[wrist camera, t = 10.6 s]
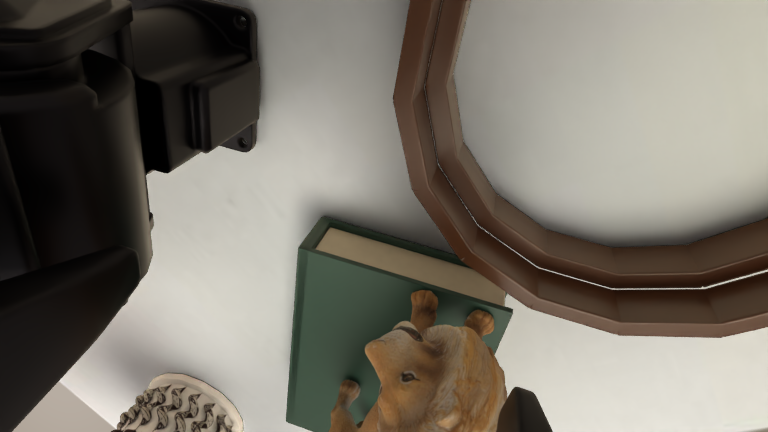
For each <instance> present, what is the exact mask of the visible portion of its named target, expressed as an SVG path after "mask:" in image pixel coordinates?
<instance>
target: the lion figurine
mask: <svg viewBox="0 0 768 432" xmlns="http://www.w3.org/2000/svg"><path fill="white" fill-rule="evenodd" d="M411 301H412V315H411V321H410V322H408V321H402V322H400V323H399V324H397V325H396V326H395V327H394V328H393V330H392V331H391V332H389V333H387V334H385V335H383V336H382V337H381V338H379V339H376V340H373V341H371V342H369V343H368V344H367V345H366V347H365V353H366V355H367V357H368V358H369V360H370V362H371V363H372V365H373V366H374V368H375V370H376V372H377V375H378V377H379V379H380V381H381V386H380V390H379V397H378V399H377V402H376V403H375V404H374V406H373V407H372V408H371V410H370V411H369V412H368V414H367V416H366V417H365V419H364V421H360V422H359V423H358V424H357V425H356V424H355V422H354V419H353V416H352V414H351V412H350V411H348V409H349V407H350V405H351V403H352V402H353V401H354V400H355V399H356V398H357V397H358V395H359V393H360V390H361V389H360V386H359V385H358V383H356V382H354V381H352V380H344V381H343V382H342V383H341V385H340V390H339V396H338V399H337V402H336V405H335V407H334V408H333V410H332V411H331V428H330V430H329V432H496V429H497V423H498V417H499V413H500V411H501V408H502V406H503V405H504V403H505V401H506V400H507V391H506V387H505V377H504V371H503V370H502V368H501V367H500V366H499V364H498V362H497V359H496V358H495V356H494V353H493V350H492V349H491V347H488V346H486V344H485V343H484V342H483V341H482V337H483V335H486V334H490V333H491V332H492V331H493V330H494V319H493V317H492V316H491V315H490V313H488V312H485V311H482V310H475V311H473V312H472V313H471V314H470V315H469V316H468V317H467V319H466V320H465V322H464V326H463V327H453V326H451V325H437V326H433V325H434V323H435V321H436V318H437V313H436V309H437V306H438V299H437V296H436V295H435V294H433V292H432V291H429V290H419V291H415V292H413V293H412V294H411Z"/></svg>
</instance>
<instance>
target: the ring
mask: <svg viewBox="0 0 768 432" xmlns="http://www.w3.org/2000/svg"><path fill="white" fill-rule="evenodd" d="M441 3H442V5H441ZM470 3H471V0H443V1H442V0H410V4H409V10H408V16H407V21H406V27H405V33H404V38H403V44H402V50H401V55H400V61H399V67H398V72H397V78H396V84H395V89H394V95H393V100H394V101H393V103H394V108H395V112H396V117H397V122H398V126H399V131H400V136H401V140H402V145H403V150H404V154H405V159H406V164H407V168H408V173H409V178H410V182H411V187H412V190H413V192H414V194H415V195H416V197H417V198H418V200H419V201H420V202H421V204H422V205H423V207H424V208H425V210H426V211H427V213H428V214H429V216H430V217H431V218H432V220H433V221H434V223H435V224H436V226H437V227H438V229H439V230H440V232H441V233H442V235H443V236H444V237H445V239H446V240H447V242H448V243H449V245H450V246H451V248H452V249H453V251H454V252H455V253H456V255H457V256H458V258H459V259H461V261H462V262H463V263H465V264H466V265H468V266H469V267H470V268H472V269H473V270H475V271H476V272H478V273H479V274H481V275H482V276H483V277H485V278H486V279H488V280H489V281H491V282H492V283H494V284H495V285H496V286H498V287H499V288H501V289H502V290H504V291H505V292H506V293H508V294H509V295H511V296H512V297H514V298H515V299H517V300H518V301H519V302H521V303H522V304H524V305H525V306H527V307H528V308H531V309H533V310H536V311H540V312H543V313H546V314H550V315H553V316H556V317H560V318H563V319H566V320H570V321H573V322H576V323H579V324H583V325H586V326H589V327H593V328H596V329H599V330H603V331H606V332H609V333H613V334H618V335H622V336H667V337H712V338H722V337H726V336H730V335H735V334H739V333H744V332H748V331H752V330H757V329H761V328H765V327H768V272H765V273H761V274H757V275H754V276H750V277H747V278H743V279H739V280H736V281H732V282H729V283H725V284H721V285H718V286H714V287H711V288H707V289H667V290H611V289H608V288H604V287H601V286H597V285H594V284H590V283H587V282H583V281H580V280H576V279H573V278H570V277H566V276H563V275H559V274H556V273H552V272H549V271H545V270H542V269H538V268H536V267H535V266H534V265H532V264H531V263H529V262H528V261H527V260H525V259H524V258H522V257H521V256H519V255H518V254H517V253H515V252H514V251H512V250H511V249H510V248H508V247H507V246H505V245H504V244H502V243H501V242H500V241H498V240H497V239H495V238H494V237H493V236H491V235H490V234H488V233H487V232H485V231H484V230H483V229H481V228H480V227H478V226H477V224H476V223H475V221H474V220H473V218H472V217H471V215H470V214H469V212H468V210H469V211H470V213H471V214H472V216H473V217H474V219H475V220H476V222H477V223H478V224H479V225H480V226H481V227H482V228H484V229H485V230H487V231H488V232H489V233H491V234H492V235H494V236H495V237H496V238H498V239H499V240H501V241H502V242H504V243H505V244H506V245H508V246H509V247H511V248H512V249H513V250H515V251H516V252H518V253H519V254H521V255H522V256H523V257H525V258H526V259H528V260H529V261H530V262H532V263H533V264H535V265H536V266H538V267H540V268H543V269H547V270H550V271H554V272H557V273H561V274H564V275H568V276H571V277H575V278H578V279H582V280H585V281H588V282H592V283H595V284H599V285H602V286H606V287H609V288H616V289H619V288H701V287H702V286H703V287H707V286H710V285H714V284H717V283H721V282H725V281H728V280H732V279H735V278H739V277H742V276H746V275H750V274H753V273H757V272H760V271H764V270H767V269H768V218H766V219H764V220H761V221H758V222H755V223H752V224H749V225H746V226H743V227H740V228H737V229H733V230H730V231H727V232H724V233H721V234H718V235H715V236H712V237H709V238H706V239H703V240H700V241H697V242H693V243H690V244H687V245H670V246H642V247H614V248H611V247H608V246H604V245H600V244H597V243H593V242H590V241H586V240H582V239H579V238H575V237H572V236H568V235H564V234H561V233H557V232H554V231H550V230H546V229H545V228H543V227H542V226H540V225H539V224H538V223H536V222H535V221H533V220H532V219H531V218H529V217H528V216H526V215H525V214H524V213H522V212H521V211H519V210H518V209H517V208H515V207H514V206H512V205H511V204H510V203H508V202H507V201H506V200H504V199H503V198H501V197H500V196H499V195H497V194H496V193H495V191H494V190H493V188H492V186H491V185H490V183H489V182H488V180H487V178H486V177H485V175H484V174H483V172H482V170H481V169H480V167H479V165H478V164H477V162H476V161H475V159H474V157H473V156H472V154H471V153H470V151H469V149H468V148H467V146H466V145H465V143H464V141H463V135H462V129H461V122H460V115H459V109H458V102H457V95H456V88H455V82H454V75H453V73H454V69H455V65H456V61H457V57H458V52H459V48H460V44H461V40H462V36H463V32H464V28H465V24H466V20H467V15H468V11H469V7H470ZM440 8H441V10H440ZM439 12H440V15H439ZM438 17H439V19H438ZM437 22H438V24H437ZM436 27H437V29H436ZM435 31H436V34H435ZM434 36H435V38H434ZM433 41H434V43H433ZM432 46H433V48H432ZM431 50H432V53H431ZM430 55H431V57H430ZM429 60H430V62H429ZM428 64H429V67H428ZM427 69H428V72H427ZM426 74H427V76H426ZM425 79H426V81H425ZM424 83H425V90H424ZM425 91H426V96H425ZM426 97H427V101H426ZM427 102H428V107H427ZM428 108H429V112H428ZM429 113H430V118H429ZM430 119H431V123H430ZM431 124H432V129H431ZM432 130H433V135H432ZM433 136H434V140H433ZM434 141H435V146H434ZM435 147H436V151H435ZM436 152H437V157H436ZM437 158H438V162H437ZM438 163H439V165H440V167H441V168H442V170H443V171H444V173H445V174H446V176H447V177H448V179H449V180H450V182H451V183H452V185H453V187H454V188H455V190H456V191H457V193H458V194H459V196H460V197H461V199H462V200H463V202H464V203H465V205H466V207H467V208H468V210H467V209H466V207H465V206H464V204H463V203H462V201H461V200H460V198H459V197H458V195H457V194H456V192H455V191H454V189H453V188H452V186H451V184H450V183H449V181H448V180H447V178H446V177H445V175H444V174H443V172H442V171H441V169H440V168H439V166H438Z"/></svg>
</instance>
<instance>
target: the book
mask: <svg viewBox="0 0 768 432" xmlns="http://www.w3.org/2000/svg"><path fill="white" fill-rule="evenodd" d="M419 290H429V291H432V292H433V294H435V295H436V296H437V299H438V306H437V309H436V313H437V318H436V321H435V323H434V325H433V326H437V325H451V326H453V327H463V326H464V322H465V320H466V319H467V317H468V316H469V315H470V314H471V313H472V312H473V311H475V310H482V311H485V312H488V313H490V315H491V316H492V317H493V319H494V330H493V331H492V332H491V333H490V334H486V335H483V337H482V341H483V342H484V343H485V344H486V346H488V347H491V349H492V350H493V353H494V355H495V353H496V350H497V348H498V346H499V343H500V341H501V339H502V337H503V334H504V332H505V330H506V328H507V325H508V323H509V321H510V319H511V316H512V314H513V309H511V308H508V307H504V304H505V297H506V295H507V293H506V292H505V291H504V290H502V289H501V288H499V287H498V286H496V285H495V284H494V283H492V282H491V281H489V280H488V279H486V278H485V277H483V276H482V275H481V274H479V273H478V272H476V271H475V270H473V269H472V268H470V267H469V266H468V265H466V264H465V263H463V262H462V261H461V259H459V258H458V256H457V255H454V254H450V253H447V252H443V251H440V250H437V249H433V248H430V247H426V246H423V245H419V244H416V243H413V242H409V241H406V240H402V239H399V238H395V237H392V236H389V235H385V234H382V233H378V232H375V231H372V230H368V229H365V228H361V227H358V226H354V225H351V224H348V223H344V222H341V221H337V220H334V219H331V218H327V217H321V218H320V220H319V221H318V222H317V224H316V225H315V226H314V228H313V229H312V230H311V232H310V233H309V234H308V236H307V237H306V238H305V240H304V241H303V242H302V244H301V245H300V246H299V248H298V259H297V273H296V287H295V301H294V315H293V329H292V342H291V356H290V370H289V384H288V398H287V412H286V422H288V423H291V424H294V425H296V426H299V427H302V428H305V429H307V430H310V431H313V432H329V430H330V428H331V411H332V410H333V408H334V407H335V405H336V402H337V399H338V396H339V390H340V385H341V383H342V382H343V381H344V380H352V381H354V382H356V383H358V385H359V386H360V389H361V390H360V393H359V395H358V397H357V398H356V399H355V400H354V401H353V402H352V403H351V405H350V407H349V409H348V411H350V412H351V414H352V416H353V419H354V422H355V424H356V425H357V424H358V423H359V422H360V421H364V419H365V417H366V416H367V414H368V412H369V411H370V410H371V408H372V407H373V406H374V404H375V403H376V402H377V399H378V397H379V390H380V386H381V381H380V379H379V377H378V375H377V372H376V370H375V368H374V366H373V365H372V363H371V362H370V360H369V358H368V357H367V355H366V353H365V347H366V345H367V344H368V343H369V342H371V341H373V340H376V339H379V338H381V337H382V336H383V335H385V334H387V333H389V332H391V331H392V330H393V328H394V327H395V326H396V325H397V324H399V323H400V322H402V321H408V322H410V321H411V315H412V301H411V294H412V293H413V292H415V291H419Z"/></svg>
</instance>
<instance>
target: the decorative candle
mask: <svg viewBox="0 0 768 432" xmlns="http://www.w3.org/2000/svg"><path fill="white" fill-rule="evenodd" d="M143 402H144V403H143ZM142 403H143V404H142ZM111 432H243V421H242V419H241V417H240V415H239V413H238V411H237V409H236V407H235V406H234V405H233V404H232V403H231V402H230V401H229V400H228V399H227V398H226V397H225V396H224V395H223V394H222V393H220V392H219V391H217V390H216V389H214V388H212V387H211V386H209V385H208V384H206V383H205V382H203V381H200V380H198V379H195V378H192V377H189V376H187V375H184V374H172V373H165V374H163V375H160V376H158V377H155V378H154V379H153V380H152V382H151V383H150V385H149V387H148V389H147V390H145V391H144V395H139V396H137V397H136V404H135V405H134V406H133V407H131V408H130V409H129V410H128V412H124V413H122V414H121V416H120V422H119V423H118V424H117V430H113V431H111Z"/></svg>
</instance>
